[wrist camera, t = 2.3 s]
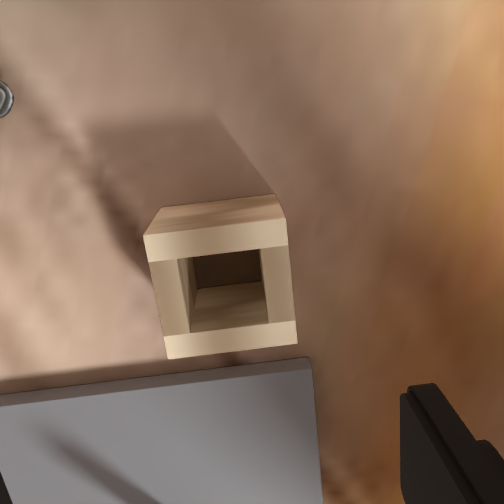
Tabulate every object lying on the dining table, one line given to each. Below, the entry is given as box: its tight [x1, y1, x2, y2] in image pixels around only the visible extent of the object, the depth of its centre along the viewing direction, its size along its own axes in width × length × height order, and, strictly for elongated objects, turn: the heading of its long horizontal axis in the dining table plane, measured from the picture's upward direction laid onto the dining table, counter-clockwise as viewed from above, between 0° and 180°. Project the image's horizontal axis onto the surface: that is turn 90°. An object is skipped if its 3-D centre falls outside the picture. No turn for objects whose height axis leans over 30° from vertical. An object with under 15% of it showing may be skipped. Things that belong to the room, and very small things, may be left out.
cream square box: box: [143, 194, 298, 359], centre depth 22 cm, size 6×6×5 cm
